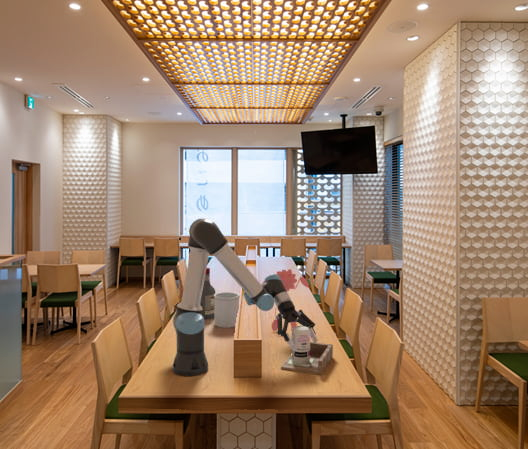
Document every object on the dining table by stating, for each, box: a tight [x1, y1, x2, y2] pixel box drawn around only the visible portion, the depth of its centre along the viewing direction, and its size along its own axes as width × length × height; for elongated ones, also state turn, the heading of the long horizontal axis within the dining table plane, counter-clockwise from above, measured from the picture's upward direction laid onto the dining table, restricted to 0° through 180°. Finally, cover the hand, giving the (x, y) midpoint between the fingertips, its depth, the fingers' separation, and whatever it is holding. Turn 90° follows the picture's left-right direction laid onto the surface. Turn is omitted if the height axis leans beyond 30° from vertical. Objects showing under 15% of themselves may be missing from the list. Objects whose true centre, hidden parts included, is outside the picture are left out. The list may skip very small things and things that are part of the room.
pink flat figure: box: [261, 268, 310, 332], centre depth 246 cm, size 15×26×35 cm, turn 94°
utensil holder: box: [213, 291, 241, 329], centre depth 262 cm, size 15×15×18 cm
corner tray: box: [280, 341, 334, 376], centre depth 203 cm, size 22×18×6 cm
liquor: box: [200, 267, 216, 320], centre depth 277 cm, size 9×9×30 cm
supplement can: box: [290, 325, 311, 364], centre depth 202 cm, size 8×8×15 cm
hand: (304, 344), depth 200 cm, fingers open, 13 cm apart
